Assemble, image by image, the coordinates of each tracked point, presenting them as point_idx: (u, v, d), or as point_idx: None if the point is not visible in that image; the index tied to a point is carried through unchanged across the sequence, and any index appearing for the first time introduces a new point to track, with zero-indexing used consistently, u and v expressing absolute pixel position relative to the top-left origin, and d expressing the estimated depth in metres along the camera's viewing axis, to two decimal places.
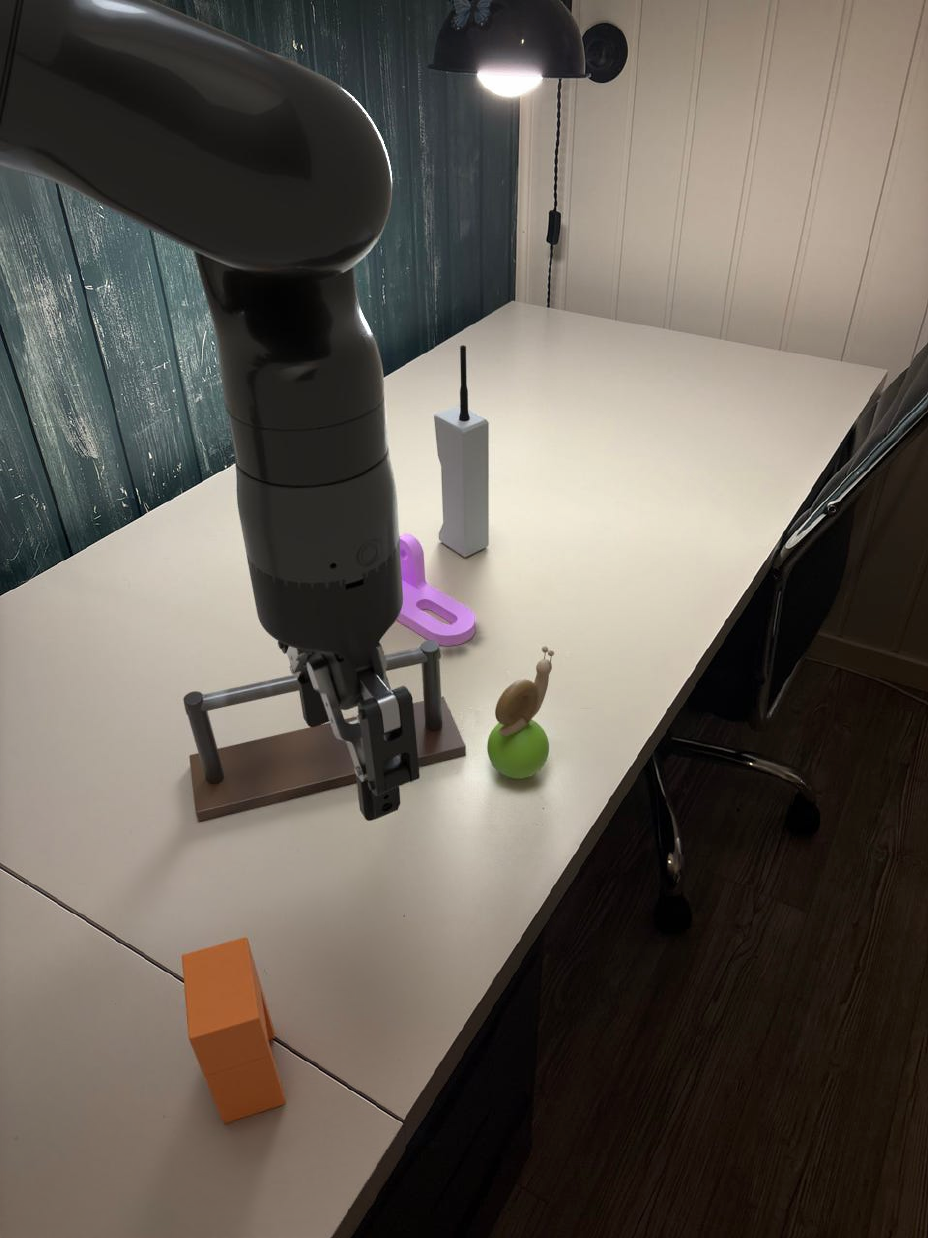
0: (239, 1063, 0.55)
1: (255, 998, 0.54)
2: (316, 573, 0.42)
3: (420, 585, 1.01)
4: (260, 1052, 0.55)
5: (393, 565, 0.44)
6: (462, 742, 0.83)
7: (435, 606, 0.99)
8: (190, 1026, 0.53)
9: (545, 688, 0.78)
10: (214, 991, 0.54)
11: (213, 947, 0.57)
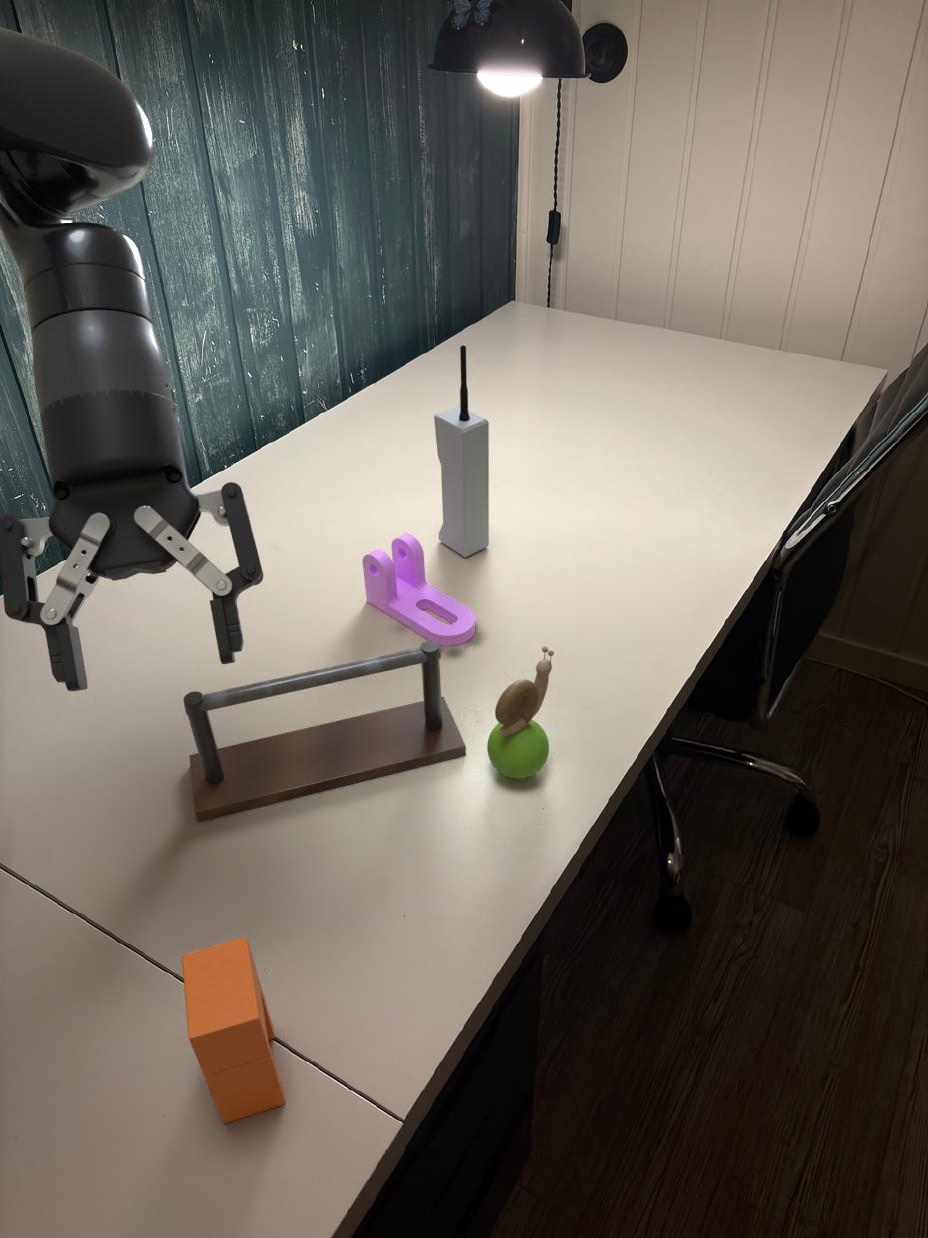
0: (239, 1063, 0.55)
1: (255, 998, 0.54)
2: (160, 387, 0.53)
3: (420, 585, 1.01)
4: (260, 1052, 0.55)
5: None
6: (462, 742, 0.83)
7: (435, 606, 0.99)
8: (190, 1026, 0.53)
9: (545, 688, 0.78)
10: (214, 991, 0.54)
11: (213, 947, 0.57)
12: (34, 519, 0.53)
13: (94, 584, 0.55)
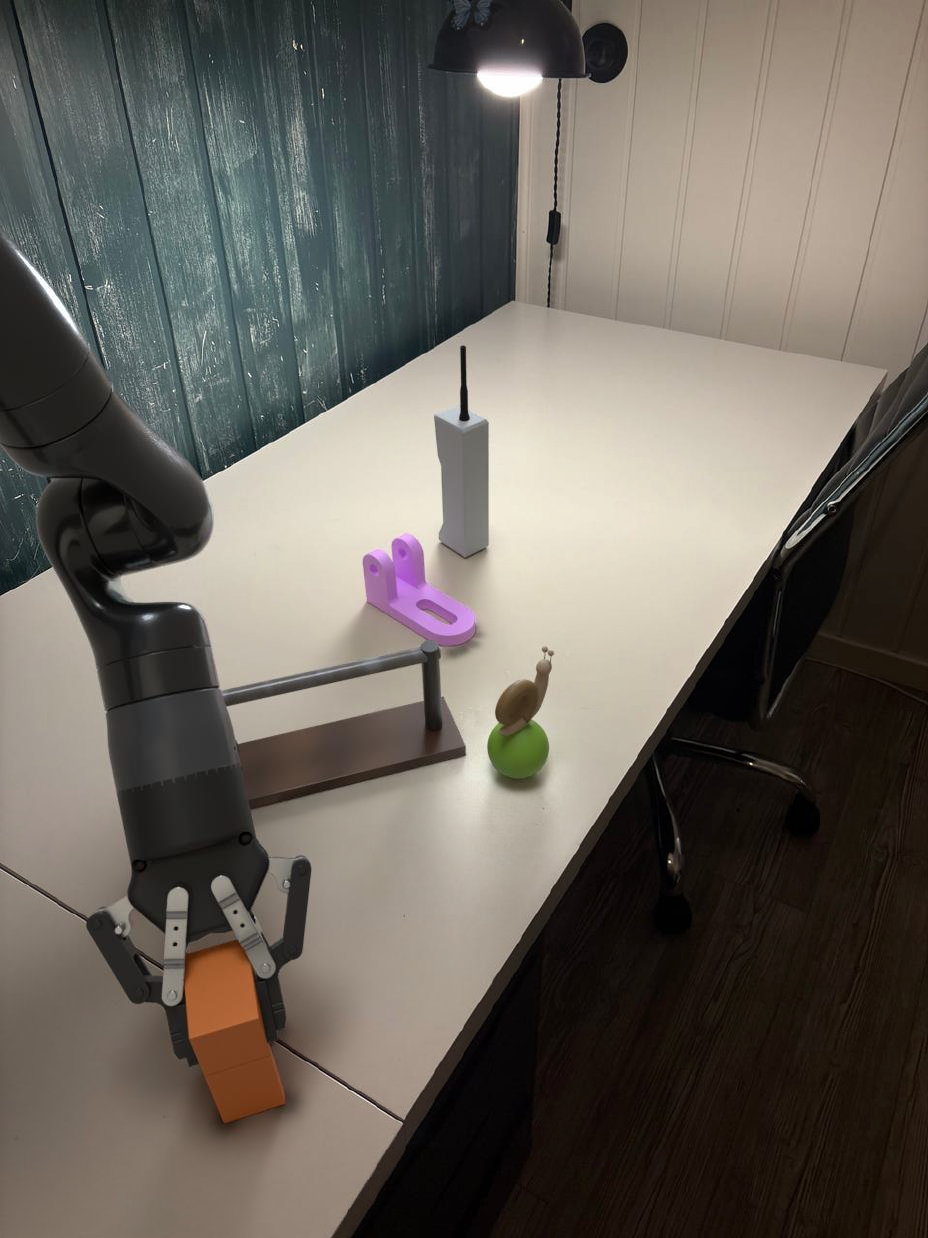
0: (239, 1063, 0.55)
1: (255, 998, 0.54)
2: (230, 755, 0.56)
3: (420, 585, 1.01)
4: (260, 1052, 0.55)
5: None
6: (462, 742, 0.83)
7: (435, 606, 0.99)
8: (190, 1026, 0.53)
9: (545, 688, 0.78)
10: (214, 991, 0.54)
11: (213, 947, 0.57)
12: (115, 904, 0.55)
13: None
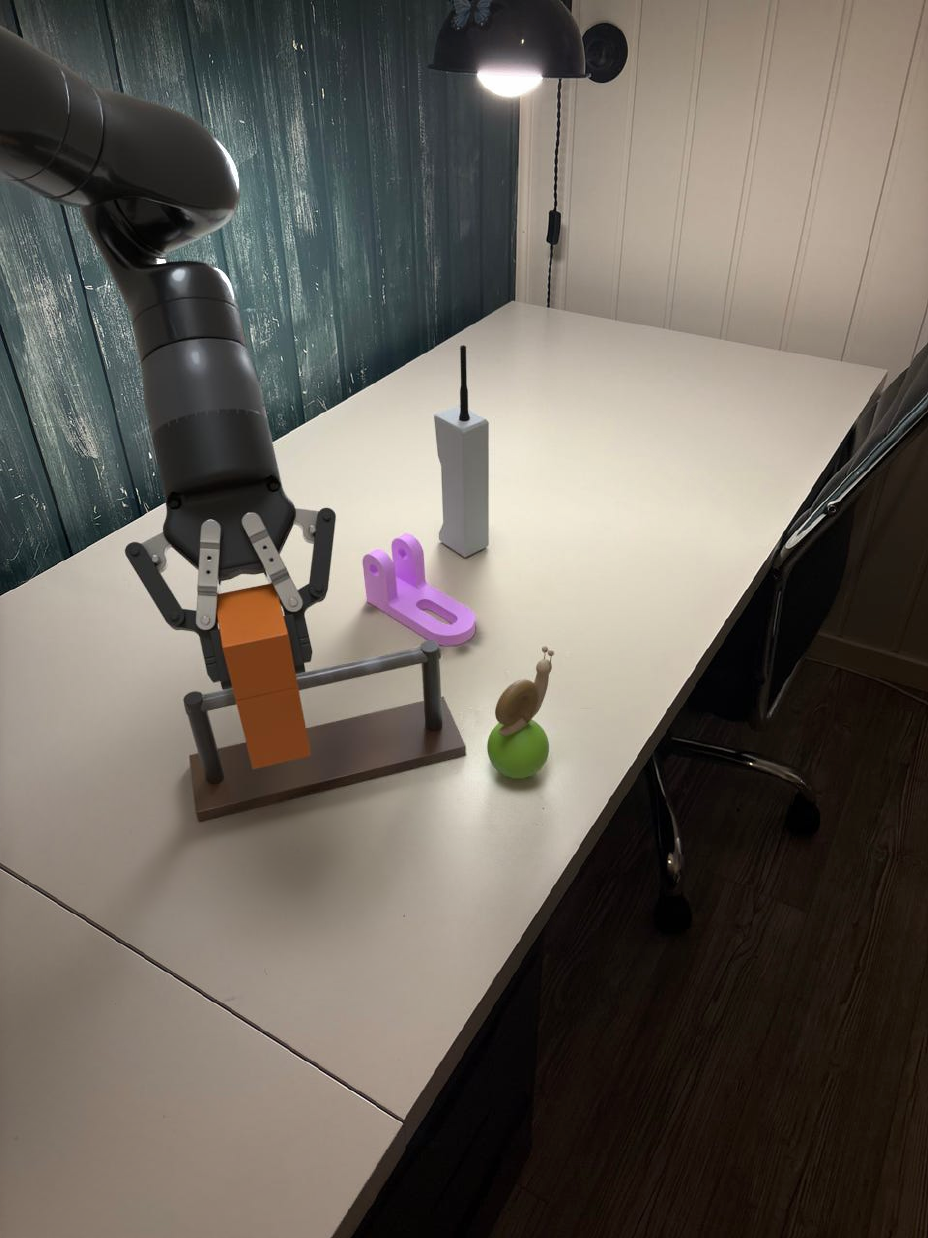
0: (269, 690, 0.58)
1: (284, 621, 0.57)
2: (259, 406, 0.59)
3: (420, 585, 1.01)
4: (288, 679, 0.58)
5: None
6: (462, 742, 0.83)
7: (435, 606, 0.99)
8: (223, 639, 0.56)
9: (545, 688, 0.78)
10: (245, 617, 0.58)
11: (243, 589, 0.60)
12: (151, 539, 0.58)
13: (220, 586, 0.60)
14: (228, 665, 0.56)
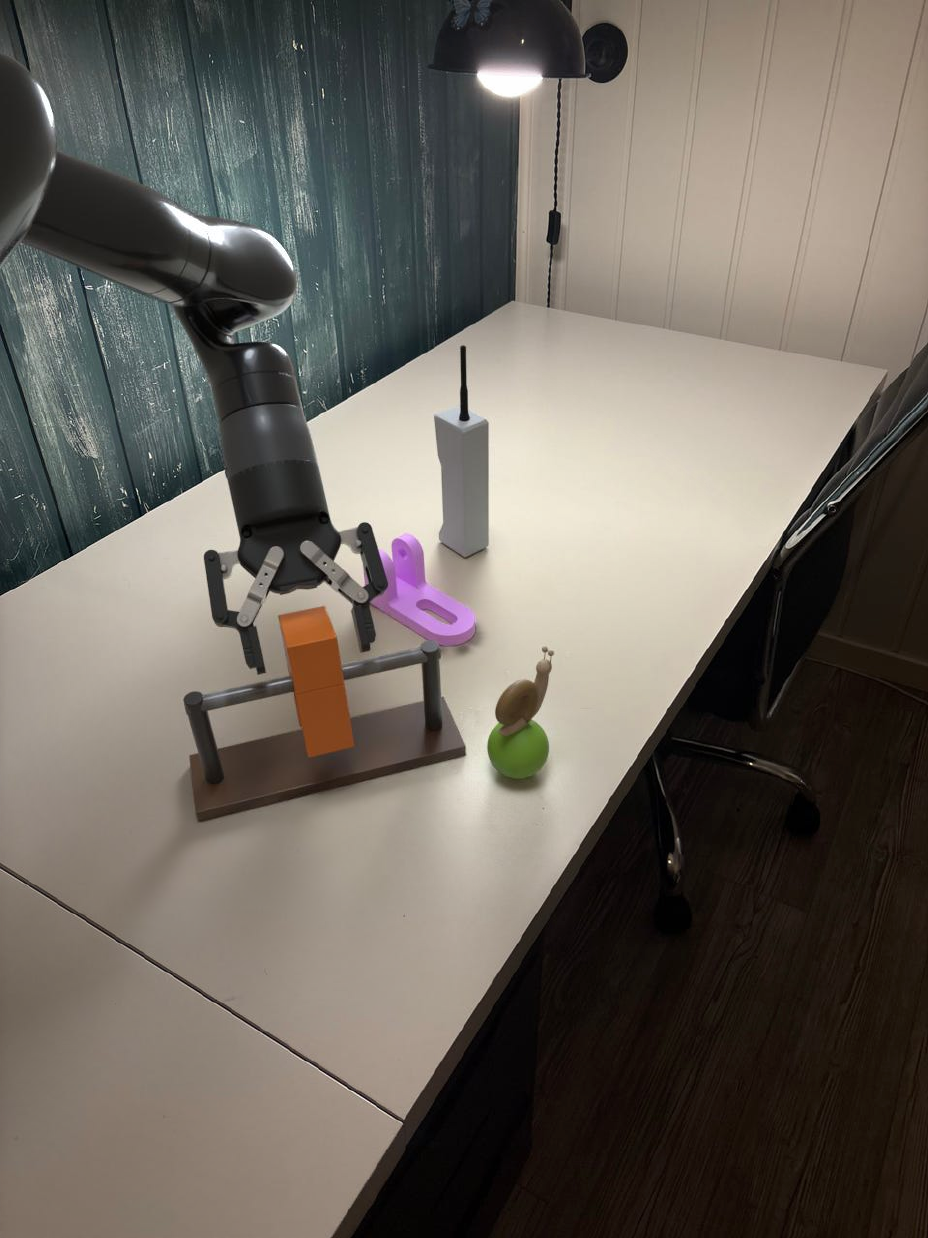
0: (321, 685, 0.74)
1: (333, 629, 0.74)
2: (313, 456, 0.75)
3: (420, 585, 1.01)
4: (336, 676, 0.74)
5: None
6: (462, 742, 0.83)
7: (435, 606, 0.99)
8: (287, 642, 0.72)
9: (545, 688, 0.78)
10: (303, 628, 0.74)
11: None
12: (227, 552, 0.74)
13: None
14: (291, 663, 0.73)
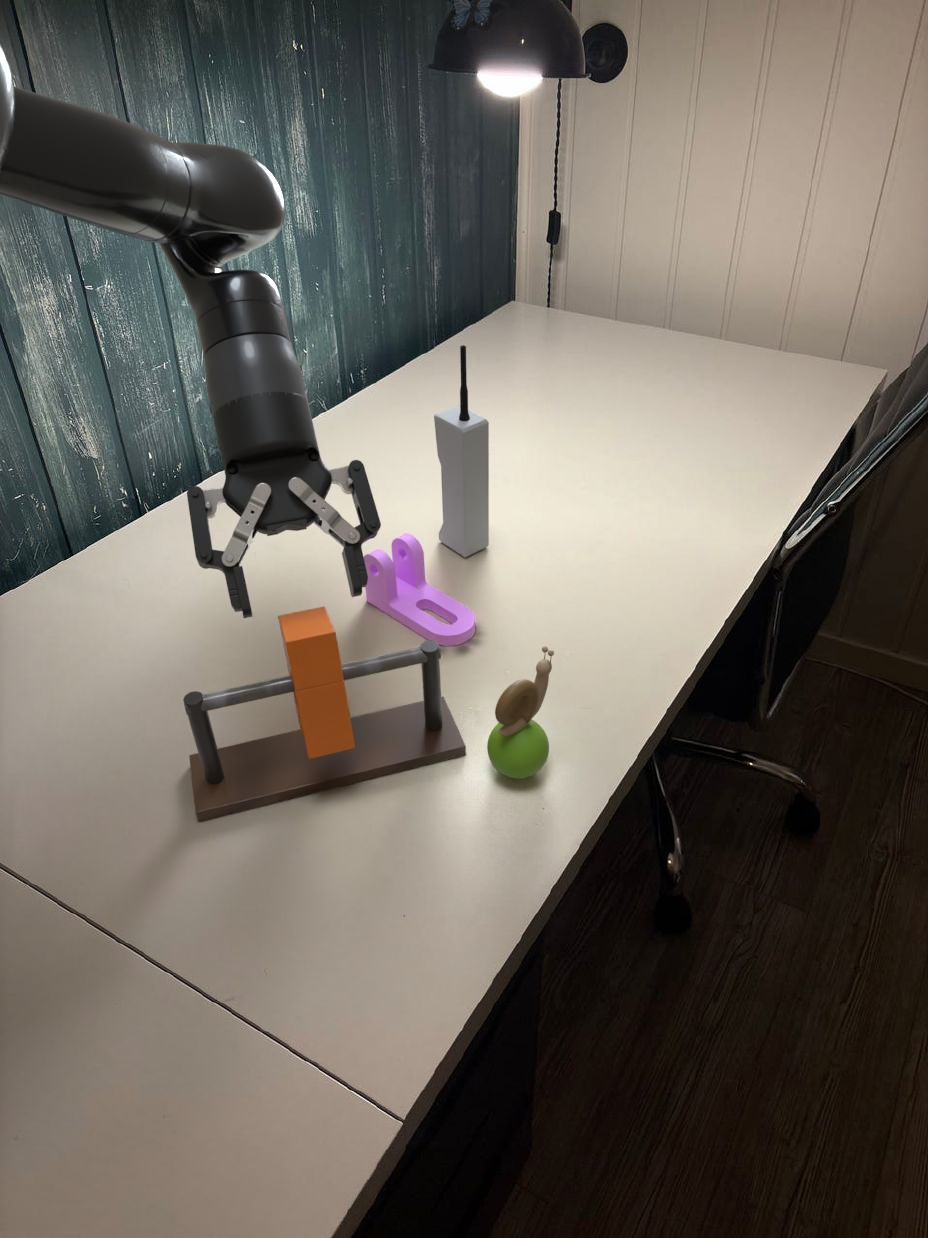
0: (321, 682, 0.74)
1: (332, 625, 0.74)
2: (302, 390, 0.72)
3: (420, 585, 1.01)
4: (336, 673, 0.74)
5: None
6: (462, 742, 0.83)
7: (435, 606, 0.99)
8: (286, 637, 0.73)
9: (545, 688, 0.78)
10: (302, 625, 0.75)
11: (300, 611, 0.77)
12: (211, 489, 0.70)
13: (252, 539, 0.72)
14: (290, 658, 0.73)
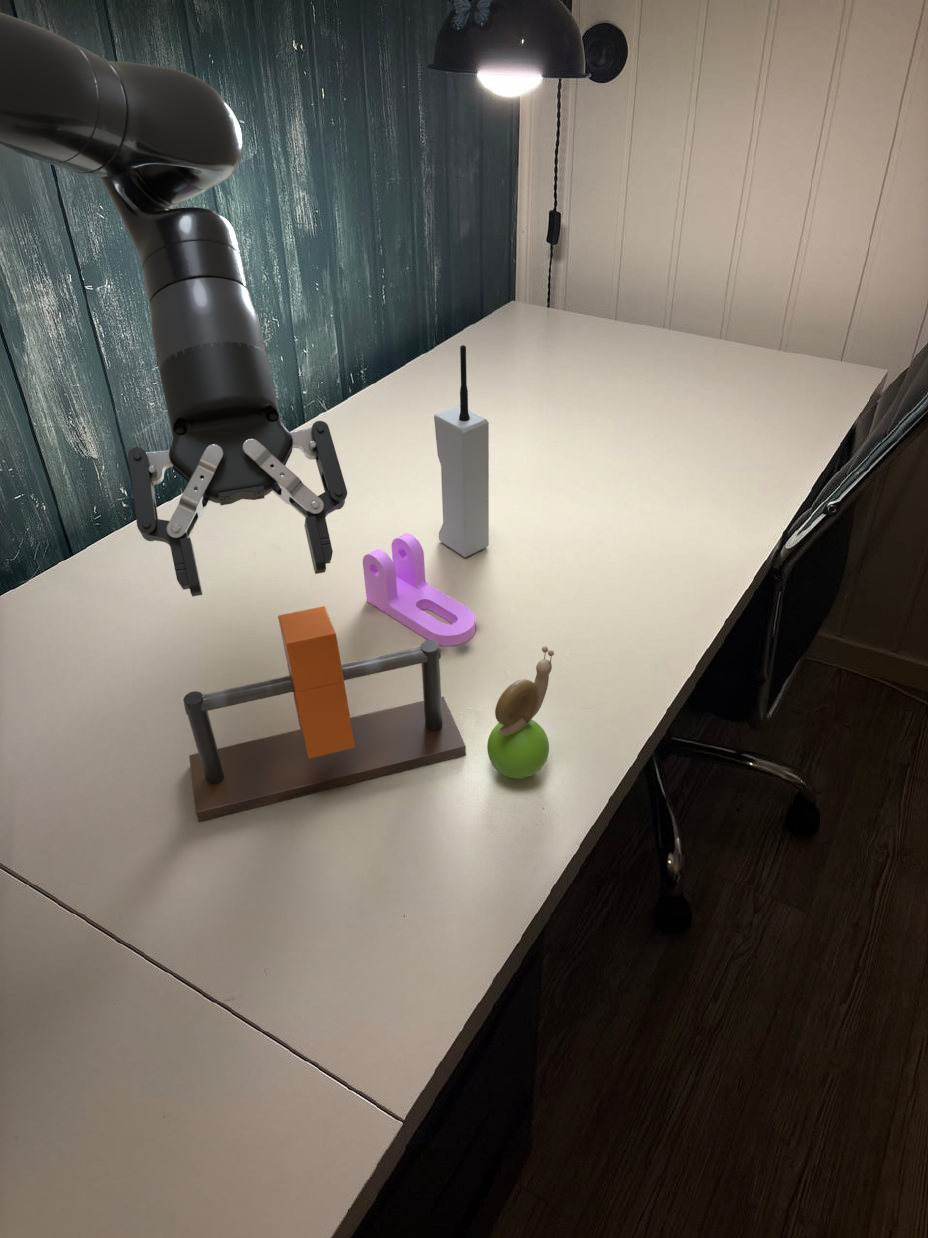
0: (321, 683, 0.74)
1: (332, 627, 0.74)
2: (260, 342, 0.64)
3: (420, 585, 1.01)
4: (336, 674, 0.74)
5: None
6: (462, 742, 0.83)
7: (435, 606, 0.99)
8: (286, 639, 0.73)
9: (545, 688, 0.78)
10: (303, 626, 0.74)
11: (300, 611, 0.77)
12: (157, 452, 0.63)
13: (204, 509, 0.65)
14: (290, 660, 0.73)
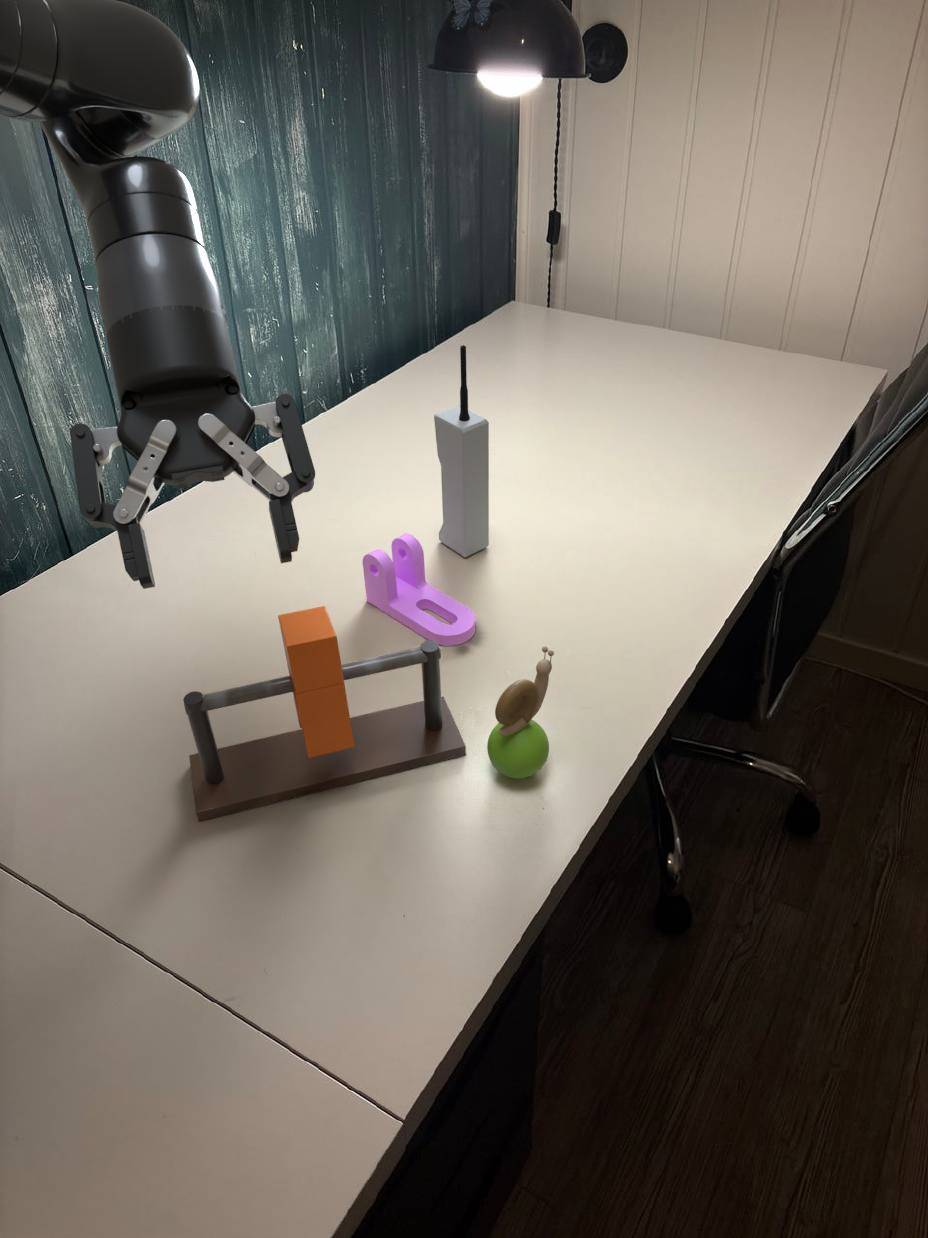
0: (321, 685, 0.74)
1: (333, 628, 0.74)
2: (218, 306, 0.58)
3: (420, 585, 1.01)
4: (336, 676, 0.74)
5: None
6: (462, 742, 0.83)
7: (435, 606, 0.99)
8: (287, 641, 0.73)
9: (545, 688, 0.78)
10: (303, 627, 0.74)
11: None
12: (103, 428, 0.57)
13: (157, 492, 0.58)
14: (290, 662, 0.73)
